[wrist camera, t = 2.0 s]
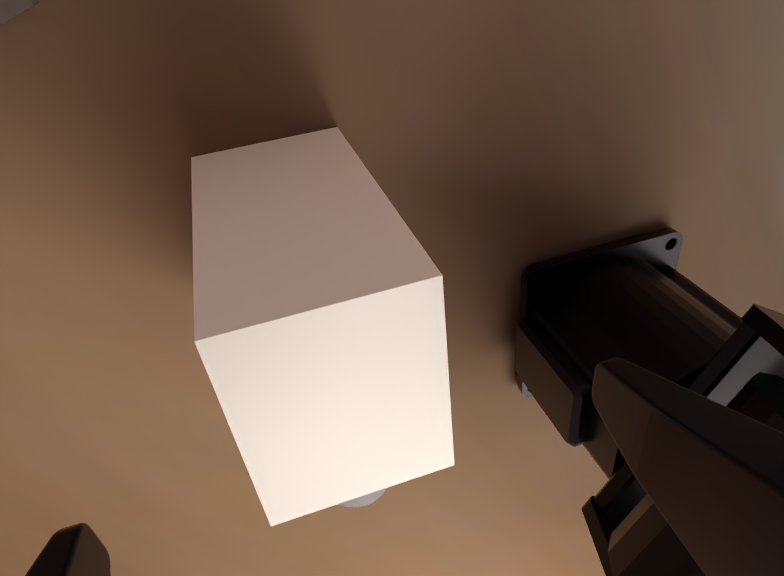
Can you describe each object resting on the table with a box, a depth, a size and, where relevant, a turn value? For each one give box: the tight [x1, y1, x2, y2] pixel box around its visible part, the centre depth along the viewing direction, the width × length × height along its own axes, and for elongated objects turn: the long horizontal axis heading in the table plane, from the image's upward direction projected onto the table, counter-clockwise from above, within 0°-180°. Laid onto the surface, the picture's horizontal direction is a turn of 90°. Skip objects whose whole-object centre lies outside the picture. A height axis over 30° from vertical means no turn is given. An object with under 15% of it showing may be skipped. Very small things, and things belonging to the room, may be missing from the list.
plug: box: [191, 127, 454, 526], centre depth 14 cm, size 4×6×8 cm, turn 6°
